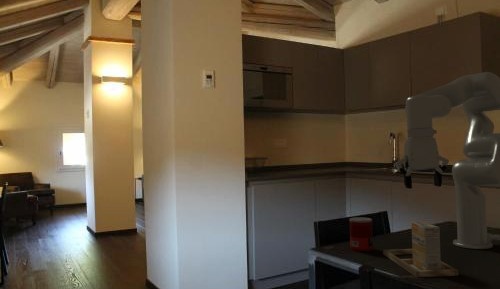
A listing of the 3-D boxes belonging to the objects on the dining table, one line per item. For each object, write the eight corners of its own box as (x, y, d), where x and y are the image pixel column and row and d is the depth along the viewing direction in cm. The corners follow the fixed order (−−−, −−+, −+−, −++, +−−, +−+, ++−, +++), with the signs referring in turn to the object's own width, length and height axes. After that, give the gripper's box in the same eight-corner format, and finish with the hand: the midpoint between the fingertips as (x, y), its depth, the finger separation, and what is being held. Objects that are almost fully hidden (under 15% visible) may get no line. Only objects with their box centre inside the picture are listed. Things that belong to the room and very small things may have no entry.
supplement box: (412, 264, 121) (410, 222, 121) (427, 264, 121) (425, 221, 122) (425, 272, 113) (424, 226, 113) (441, 272, 113) (440, 226, 113)
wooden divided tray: (417, 253, 136) (417, 248, 136) (458, 275, 111) (458, 270, 111) (383, 254, 135) (383, 249, 135) (416, 277, 110) (416, 271, 110)
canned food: (374, 252, 139) (373, 220, 139) (350, 251, 140) (349, 220, 140) (372, 247, 146) (371, 217, 146) (349, 246, 148) (348, 217, 148)
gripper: (439, 133, 131) (442, 184, 131) (389, 136, 130) (392, 187, 130) (452, 132, 124) (455, 186, 124) (399, 135, 123) (402, 190, 123)
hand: (423, 187), depth 127 cm, fingers open, 9 cm apart
